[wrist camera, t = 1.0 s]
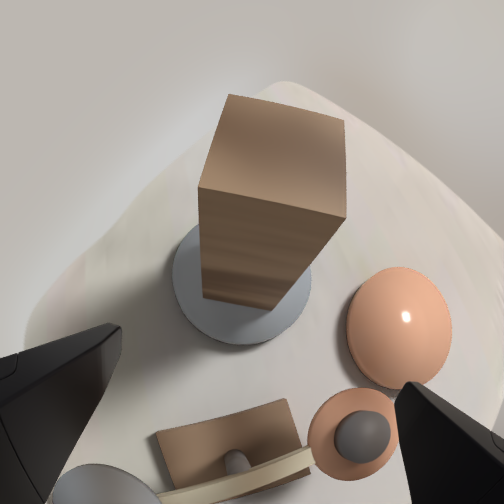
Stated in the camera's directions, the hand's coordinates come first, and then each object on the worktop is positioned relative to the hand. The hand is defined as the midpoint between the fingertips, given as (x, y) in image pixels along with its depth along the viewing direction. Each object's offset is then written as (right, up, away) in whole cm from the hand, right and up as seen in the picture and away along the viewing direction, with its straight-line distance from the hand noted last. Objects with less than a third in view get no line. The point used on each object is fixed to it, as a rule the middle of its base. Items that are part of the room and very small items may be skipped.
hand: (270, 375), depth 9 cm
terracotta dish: (+12, -3, +15) cm, 19 cm away
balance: (-2, -10, +10) cm, 14 cm away
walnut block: (-1, +2, +14) cm, 14 cm away
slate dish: (-1, +2, +15) cm, 15 cm away
